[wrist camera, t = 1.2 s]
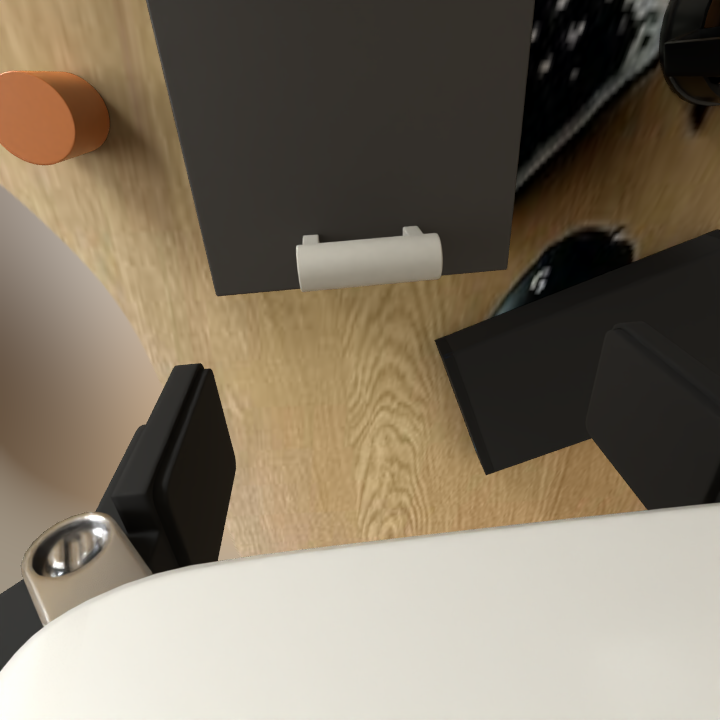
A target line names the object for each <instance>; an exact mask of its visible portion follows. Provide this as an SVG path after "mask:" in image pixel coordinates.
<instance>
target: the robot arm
mask: <svg viewBox="0 0 720 720" xmlns="http://www.w3.org/2000/svg"><path fill="white" fill-rule="evenodd" d="M585 424H586V429H587V432H588V434H589V435H590V437H591V438H592V439H593V440H594V442H595V443H596V444H597V446H598V447H599V448H600V449H601V451H602V452H603V453H604V455H605V456H606V457H607V458H608V460H609V461H610V462H611V464H612V465H613V466H614V467H615V469H616V470H617V471H618V473H619V474H620V475H621V476H622V478H623V479H624V480H625V482H626V483H627V484H628V485H629V487H630V488H631V489H632V491H633V492H634V493H635V494H636V496H637V497H638V498H639V500H640V501H641V502H642V503H643V505H644V506H645V507H646V508H647V510H644V511H635V512H626V513H616V514H607V515H598V516H588V517H579V518H570V519H561V520H552V521H543V522H534V523H525V524H516V525H507V526H499V527H490V528H481V529H472V530H463V531H455V532H446V533H437V534H428V535H420V536H412V537H403V538H395V539H386V540H378V541H369V542H361V543H352V544H344V545H335V546H327V547H319V548H310V549H302V550H294V551H286V552H278V553H270V554H262V555H255V556H248V557H242V558H235V559H229V560H222V561H218V556H219V551H220V546H221V541H222V536H223V531H224V526H225V521H226V516H227V511H228V506H229V501H230V496H231V491H232V486H233V481H234V476H235V471H236V461H235V455H234V451H233V447H232V443H231V439H230V436H229V432H228V428H227V424H226V420H225V417H224V413H223V409H222V405H221V401H220V398H219V394H218V390H217V386H216V382H215V378H214V375H213V372H212V370H211V369H204V367H203V365H202V364H201V363H199V364H188V365H178V366H175V367H174V368H173V370H172V372H171V374H170V376H169V378H168V380H167V382H166V384H165V387H164V389H163V391H162V393H161V395H160V397H159V399H158V401H157V403H156V405H155V407H154V409H153V411H152V414H151V415H150V417H149V419H148V421H147V424H146V425H142V426H140V427H139V428H138V429H137V431H136V432H135V434H134V436H133V438H132V440H131V442H130V444H129V446H128V448H127V450H126V452H125V454H124V456H123V458H122V460H121V462H120V464H119V466H118V468H117V470H116V472H115V474H114V476H113V478H112V480H111V482H110V484H109V486H108V488H107V490H106V492H105V494H104V496H103V498H102V500H101V502H100V504H99V506H98V508H97V510H96V512H86V513H82V514H78V515H74V516H71V517H69V518H67V519H64V520H63V521H60V522H58V523H56V524H55V525H53V526H52V527H50V528H49V529H47V530H46V531H44V532H43V533H42V534H41V535H40V536H39V537H38V538H37V539H36V540H35V541H34V542H33V543H32V544H31V546H30V547H29V549H28V550H27V551H26V553H25V554H24V557H23V561H22V563H21V572H22V577H23V580H21V581H20V582H18V583H17V584H15V585H14V586H12V587H11V588H9V589H7V590H6V591H4V592H3V593H1V594H0V720H720V376H718V375H717V374H715V373H714V372H713V371H711V370H710V369H709V368H707V367H706V366H704V365H703V364H702V363H700V362H699V361H698V360H696V359H695V358H693V357H692V356H691V355H689V354H688V353H687V352H685V351H684V350H682V349H681V348H680V347H678V346H677V345H676V344H674V343H673V342H672V341H670V340H669V339H667V338H666V337H665V336H663V335H662V334H661V333H659V332H658V331H656V330H655V329H654V328H652V327H651V326H650V325H648V324H647V323H645V322H643V321H638V322H627V323H617V324H616V325H614V326H613V328H612V330H609V331H607V333H606V334H605V337H604V342H603V346H602V350H601V355H600V359H599V363H598V368H597V372H596V376H595V381H594V385H593V389H592V394H591V398H590V402H589V407H588V411H587V415H586V421H585Z"/></svg>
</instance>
